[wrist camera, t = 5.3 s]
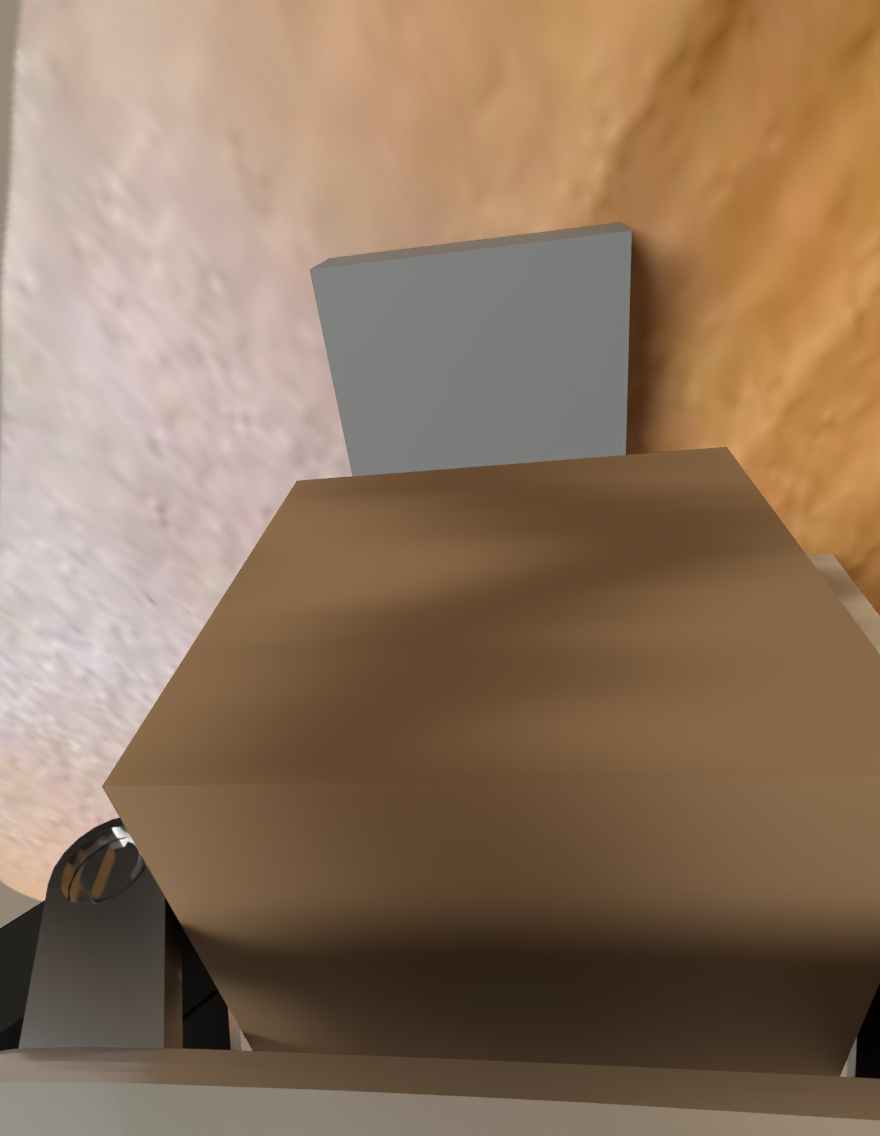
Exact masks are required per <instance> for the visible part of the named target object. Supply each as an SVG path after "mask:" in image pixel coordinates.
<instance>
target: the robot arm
mask: <svg viewBox="0 0 880 1136" xmlns="http://www.w3.org/2000/svg"><path fill="white" fill-rule="evenodd" d="M0 1136H880V984H879V986H878V988H877V991H876V993H875V995H874V998H873V1000H872V1002H871V1005H870V1007H869V1009H868V1012H867V1014H866V1016H865V1019H864V1021H863V1023H862V1026H861V1028H860V1030H859V1033H858V1035H857V1037H856V1040H855V1042H854V1044H853V1047H852V1049H851V1051H850V1054H849V1056H848V1058H847V1074H846V1077H837V1076H816V1075H795V1074H774V1073H753V1072H732V1071H711V1070H691V1069H670V1068H649V1067H628V1066H605V1065H582V1064H559V1063H536V1062H513V1061H490V1060H466V1059H442V1058H418V1057H394V1056H370V1055H343V1054H316V1053H290V1052H263V1051H242V1050H241V1039H240V1027H239V1025H238V1024H237V1022H236V1020H235V1018H234V1017H233V1015H232V1013H231V1011H230V1010H229V1008H228V1006H227V1004H226V1003H225V1001H224V999H223V997H222V996H221V994H220V992H219V990H218V989H217V987H216V985H215V983H214V982H213V980H212V978H211V976H210V975H209V973H208V971H207V969H206V968H205V966H204V964H203V962H202V961H201V959H200V957H199V955H198V954H197V952H196V950H195V948H194V947H193V945H192V943H191V941H190V940H189V938H188V936H187V934H186V933H185V931H184V929H183V927H182V925H181V924H180V922H179V920H178V918H177V917H176V915H175V913H174V911H173V910H172V908H171V906H170V904H169V903H168V901H167V899H166V897H165V896H164V894H163V892H162V890H161V889H160V887H159V885H158V883H157V882H156V880H155V878H154V876H153V875H152V873H151V871H150V869H149V868H148V866H147V864H146V862H145V861H144V859H143V857H142V855H141V854H140V852H139V850H138V848H137V847H136V845H135V843H134V841H133V840H132V838H131V836H130V834H129V833H128V831H127V829H126V827H125V826H124V824H123V822H122V820H121V819H120V818H117V819H112V820H110V821H108V822H106V823H103V824H101V825H99V826H97V827H95V828H93V829H92V830H90V831H89V832H87V833H86V834H84V835H83V836H82V837H80V838H79V839H78V840H77V841H75V842H74V843H73V844H72V845H71V846H70V847H69V848H68V849H67V850H66V851H65V852H64V854H63V855H62V857H61V858H60V860H59V861H58V863H57V864H56V865H55V867H54V869H53V871H52V874H51V877H50V880H49V883H48V887H47V893H46V898H45V901H43V902H41V903H40V904H38V905H37V906H35V907H33V908H32V909H30V910H29V911H27V912H26V913H24V914H22V915H21V916H19V917H18V918H16V919H14V920H13V921H11V922H10V923H8V924H7V925H5V926H4V927H2V928H0Z"/></svg>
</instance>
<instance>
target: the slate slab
mask: <svg viewBox="0 0 880 1136" xmlns="http://www.w3.org/2000/svg"><path fill="white" fill-rule="evenodd" d="M631 241H632V231H631V230H630V229H629V228H628V227H626V226H625V225H624V224H623V223H614V224H606V225H597V226H589V227H581V228H573V229H565V230H557V231H549V232H541V233H532V234H524V235H516V236H508V237H500V238H492V239H484V240H476V241H467V242H459V243H451V244H443V245H435V246H427V247H419V248H411V249H402V250H394V251H386V252H378V253H370V254H362V255H354V256H346V257H337V258H329V259H327V260H326V261H324V262H322V263H320V264H319V265H317V266H315V267H314V268H312V269H310V273H311V278H312V283H313V288H314V293H315V298H316V302H317V307H318V312H319V317H320V322H321V327H322V331H323V336H324V341H325V346H326V351H327V355H328V360H329V365H330V370H331V375H332V380H333V384H334V389H335V394H336V399H337V404H338V409H339V413H340V418H341V423H342V428H343V433H344V437H345V442H346V447H347V452H348V457H349V462H350V466H351V471H352V476H365V475H378V474H390V473H403V472H416V471H428V470H441V469H454V468H466V467H479V466H492V465H504V464H517V463H530V462H542V461H555V460H568V459H581V458H593V457H606V456H619V455H626V430H627V392H628V354H629V316H630V279H631Z"/></svg>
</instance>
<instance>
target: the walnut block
mask: <svg viewBox="0 0 880 1136" xmlns="http://www.w3.org/2000/svg"><path fill="white" fill-rule="evenodd" d="M102 787H103V789H104V791H105V792H106V794H107V796H108V798H109V799H110V801H111V803H112V805H113V806H114V808H115V810H116V812H117V813H118V815H119V817H120V819H121V820H122V822H123V824H124V826H125V827H126V829H127V831H128V833H129V834H130V836H131V838H132V840H133V841H134V843H135V845H136V847H137V848H138V850H139V852H140V854H141V855H142V857H143V859H144V861H145V862H146V864H147V866H148V868H149V869H150V871H151V873H152V875H153V876H154V878H155V880H156V882H157V883H158V885H159V887H160V889H161V890H162V892H163V894H164V896H165V897H166V899H167V901H168V903H169V904H170V906H171V908H172V910H173V911H174V913H175V915H176V917H177V918H178V920H179V922H180V924H181V925H182V927H183V929H184V931H185V933H186V934H187V936H188V938H189V940H190V941H191V943H192V945H193V947H194V948H195V950H196V952H197V954H198V955H199V957H200V959H201V961H202V962H203V964H204V966H205V968H206V969H207V971H208V973H209V975H210V976H211V978H212V980H213V982H214V983H215V985H216V987H217V989H218V990H219V992H220V994H221V996H222V997H223V999H224V1001H225V1003H226V1004H227V1006H228V1008H229V1010H230V1011H231V1013H232V1015H233V1017H234V1018H235V1020H236V1022H237V1024H238V1025H239V1027H240V1029H241V1031H242V1032H243V1034H244V1036H245V1038H246V1039H247V1041H248V1043H249V1045H250V1046H251V1048H252V1050H253V1051H263V1052H290V1053H316V1054H343V1055H370V1056H394V1057H418V1058H442V1059H466V1060H490V1061H513V1062H536V1063H559V1064H582V1065H605V1066H628V1067H649V1068H670V1069H691V1070H711V1071H732V1072H753V1073H774V1074H795V1075H816V1076H837V1077H840V1075H841V1072H842V1070H843V1067H844V1065H845V1063H846V1060H847V1058H848V1056H849V1054H850V1051H851V1049H852V1047H853V1044H854V1042H855V1040H856V1037H857V1035H858V1033H859V1030H860V1028H861V1026H862V1023H863V1021H864V1019H865V1016H866V1014H867V1012H868V1009H869V1007H870V1005H871V1002H872V1000H873V998H874V995H875V993H876V991H877V988H878V986H879V984H880V654H879V652H878V651H877V650H876V648H875V647H874V646H873V644H872V643H871V642H870V640H869V639H868V638H867V636H866V635H865V633H864V632H863V631H862V629H861V628H860V627H859V625H858V624H857V623H856V621H855V620H854V619H853V617H852V616H851V615H850V613H849V612H848V610H847V609H846V608H845V606H844V605H843V604H842V602H841V601H840V600H839V598H838V597H837V596H836V594H835V593H834V592H833V590H832V589H831V587H830V586H829V585H828V583H827V582H826V581H825V579H824V578H823V577H822V575H821V574H820V573H819V571H818V570H817V569H816V567H815V566H814V565H813V563H812V562H811V560H810V559H809V558H808V556H807V555H806V554H805V552H804V551H803V550H802V548H801V547H800V546H799V544H798V543H797V542H796V540H795V539H794V537H793V536H792V535H791V533H790V532H789V531H788V529H787V528H786V527H785V525H784V524H783V523H782V521H781V520H780V519H779V517H778V516H777V514H776V513H775V512H774V510H773V509H772V508H771V506H770V505H769V504H768V502H767V501H766V500H765V498H764V497H763V496H762V494H761V493H760V491H759V490H758V489H757V487H756V486H755V485H754V483H753V482H752V481H751V479H750V478H749V477H748V475H747V474H746V473H745V471H744V470H743V469H742V467H741V466H740V464H739V463H738V462H737V460H736V459H735V458H734V456H733V455H732V454H731V452H730V451H729V450H728V448H727V447H720V448H707V449H695V450H682V451H669V452H657V453H644V454H631V455H619V456H606V457H593V458H581V459H568V460H555V461H542V462H530V463H517V464H504V465H492V466H479V467H466V468H454V469H441V470H428V471H416V472H403V473H390V474H378V475H365V476H352V477H339V478H327V479H314V480H301V481H297V482H296V483H295V485H294V486H293V488H292V489H291V491H290V493H289V494H288V496H287V497H286V499H285V500H284V502H283V504H282V505H281V507H280V508H279V510H278V511H277V513H276V515H275V516H274V518H273V519H272V521H271V522H270V524H269V525H268V527H267V529H266V530H265V532H264V533H263V535H262V536H261V538H260V540H259V541H258V543H257V544H256V546H255V547H254V549H253V551H252V552H251V554H250V555H249V557H248V558H247V560H246V562H245V563H244V565H243V566H242V568H241V569H240V571H239V573H238V574H237V576H236V577H235V579H234V580H233V582H232V584H231V585H230V587H229V588H228V590H227V591H226V593H225V595H224V596H223V598H222V599H221V601H220V602H219V604H218V606H217V607H216V609H215V610H214V612H213V613H212V615H211V617H210V618H209V620H208V621H207V623H206V624H205V626H204V628H203V629H202V631H201V632H200V634H199V635H198V637H197V639H196V640H195V642H194V643H193V645H192V646H191V648H190V650H189V651H188V653H187V654H186V656H185V657H184V659H183V661H182V662H181V664H180V665H179V667H178V668H177V670H176V671H175V673H174V675H173V676H172V678H171V679H170V681H169V682H168V684H167V686H166V687H165V689H164V690H163V692H162V693H161V695H160V697H159V698H158V700H157V701H156V703H155V704H154V706H153V708H152V709H151V711H150V712H149V714H148V715H147V717H146V719H145V720H144V722H143V723H142V725H141V726H140V728H139V730H138V731H137V733H136V734H135V736H134V737H133V739H132V741H131V742H130V744H129V745H128V747H127V748H126V750H125V752H124V753H123V755H122V756H121V758H120V759H119V761H118V763H117V764H116V766H115V767H114V769H113V770H112V772H111V774H110V775H109V777H108V778H107V780H106V781H105V783H104V785H103V786H102Z"/></svg>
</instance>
